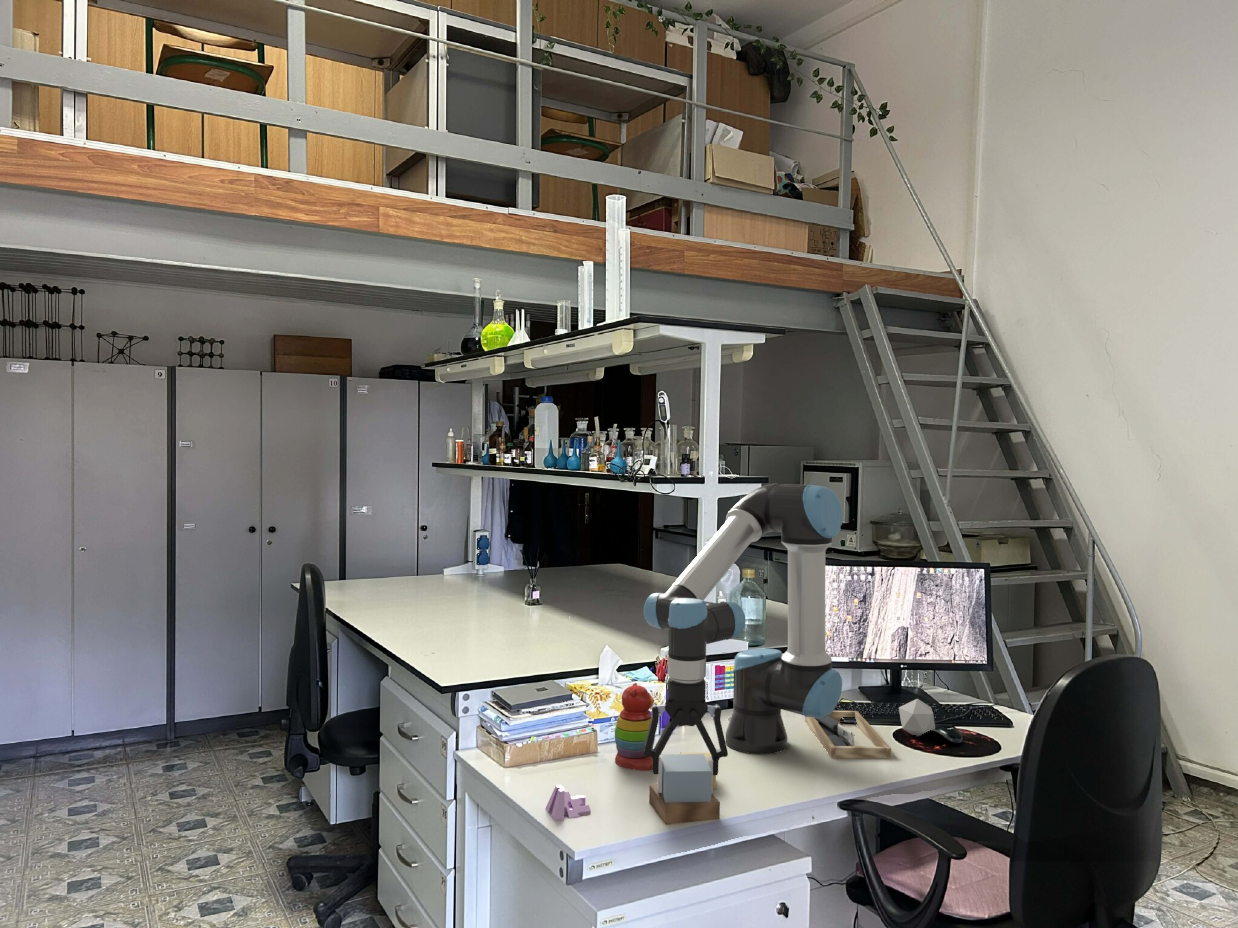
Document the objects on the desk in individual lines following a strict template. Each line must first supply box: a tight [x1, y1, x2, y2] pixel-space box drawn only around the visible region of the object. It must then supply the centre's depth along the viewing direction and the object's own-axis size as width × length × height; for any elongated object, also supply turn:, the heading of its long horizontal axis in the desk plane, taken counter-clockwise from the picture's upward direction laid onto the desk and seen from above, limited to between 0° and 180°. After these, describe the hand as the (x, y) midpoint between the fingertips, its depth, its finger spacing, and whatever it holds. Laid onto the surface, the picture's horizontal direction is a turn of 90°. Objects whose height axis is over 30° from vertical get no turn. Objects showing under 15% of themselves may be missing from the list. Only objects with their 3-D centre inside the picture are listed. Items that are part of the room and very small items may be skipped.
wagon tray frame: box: [804, 710, 892, 759], centre depth 213 cm, size 14×28×3 cm, turn 0°
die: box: [898, 698, 936, 737], centre depth 216 cm, size 8×9×10 cm
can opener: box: [815, 716, 855, 746], centre depth 213 cm, size 19×6×5 cm, turn 10°
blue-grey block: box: [661, 753, 713, 802], centre depth 168 cm, size 9×9×6 cm
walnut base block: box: [648, 783, 721, 826], centre depth 168 cm, size 11×11×5 cm
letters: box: [545, 784, 591, 821], centre depth 167 cm, size 8×7×6 cm
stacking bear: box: [614, 682, 656, 772], centre depth 196 cm, size 11×10×18 cm
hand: (684, 790), depth 168 cm, fingers closed on blue-grey block, 9 cm apart
